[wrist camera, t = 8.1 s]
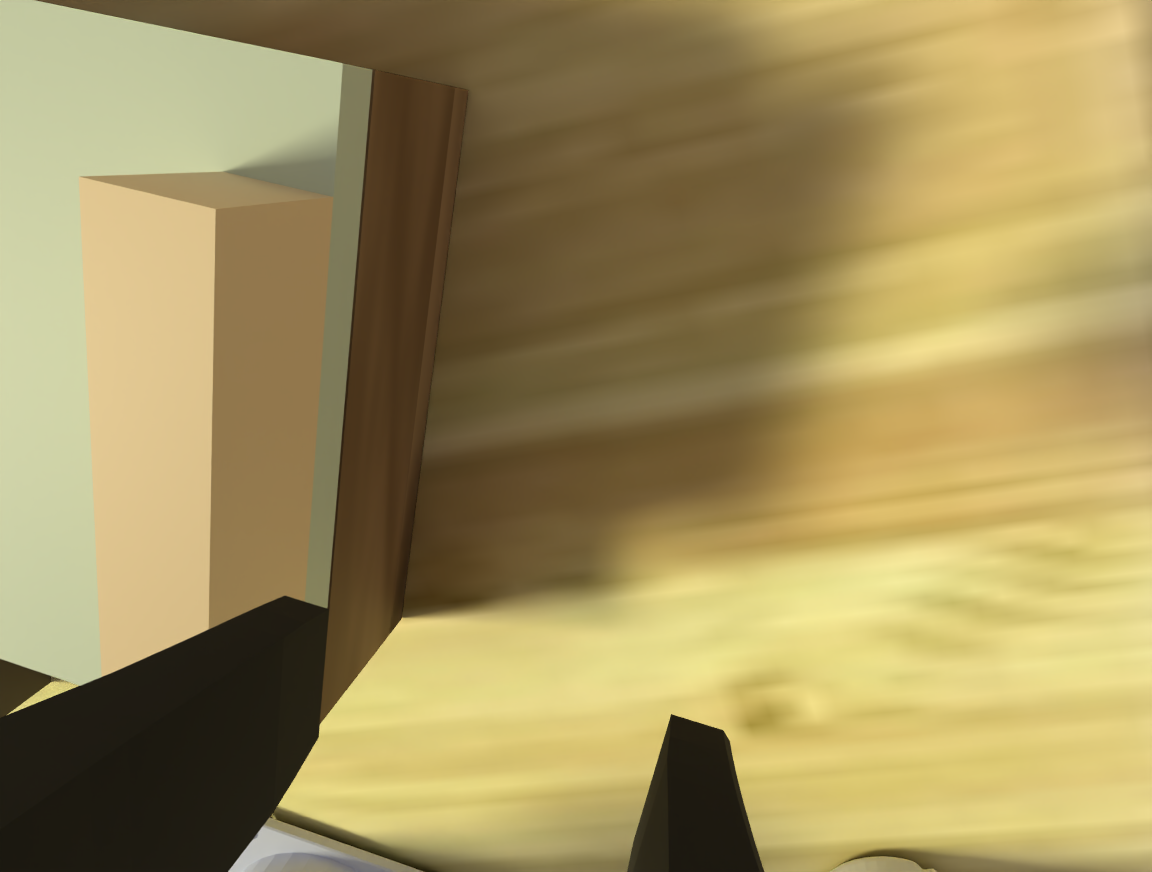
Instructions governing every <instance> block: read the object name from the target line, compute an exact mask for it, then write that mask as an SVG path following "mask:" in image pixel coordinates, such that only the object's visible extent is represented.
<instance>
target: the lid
mask: <svg viewBox="0 0 1152 872" xmlns="http://www.w3.org/2000/svg"><path fill="white" fill-rule="evenodd" d="M371 82H372V69H367V68H363V67H358V66H353V65H349V64H344V63H339V62H334V61H329V60H324V59H320V58H315V57H310V56H305V55H300V54H295V53H290V52H285V51H280V50H275V49H271V48H266V47H261V46H256V45H251V44H246V43H241V42H236V41H231V40H226V39H222V38H217V37H212V36H207V35H202V34H197V33H192V32H187V31H182V30H177V29H173V28H168V27H163V26H158V25H153V24H148V23H143V22H138V21H133V20H128V19H124V18H119V17H114V16H109V15H104V14H99V13H94V12H89V11H84V10H79V9H75V8H70V7H65V6H60V5H55V4H50V3H45V2H40V1H35V0H0V659H2V660H5V661H8V662H11V663H14V664H17V665H20V666H23V667H26V668H29V669H32V670H35V671H38V672H41V673H44V674H47V675H50V676H53V677H56V678H59V679H62V680H65V681H68V682H71V683H73V684H76V685H79V686H81V685H83V684H86V683H88V682H90V681H93V680H95V679H98V678H100V677H103V676H105V675H108V674H110V673H112V672H115V671H117V670H119V669H122V668H124V667H126V666H128V665H131V664H133V663H135V662H137V661H140V660H142V659H144V658H146V657H148V656H151V655H153V654H155V653H157V652H160V651H162V650H164V649H166V648H169V647H171V646H173V645H175V644H178V643H180V642H182V641H184V640H187V639H189V638H191V637H193V636H195V635H197V634H200V633H202V632H204V631H206V630H208V629H210V628H213V627H215V626H217V625H219V624H221V623H223V622H226V621H228V620H230V619H232V618H234V617H237V616H239V615H241V614H243V613H245V612H247V611H250V610H252V609H254V608H256V607H259V606H261V605H263V604H265V603H268V602H270V601H273V600H275V599H277V598H280V597H282V596H288V597H292V598H295V599H298V600H301V601H305V602H308V603H311V604H314V605H318V606H321V607H324V608H327V607H328V595H329V583H330V571H331V559H332V547H333V535H334V523H335V511H336V499H337V488H338V476H339V464H340V452H341V440H342V428H343V416H344V404H345V392H346V380H347V368H348V356H349V344H350V333H351V321H352V309H353V297H354V285H355V273H356V261H357V249H358V237H359V225H360V213H361V201H362V189H363V178H364V166H365V154H366V142H367V130H368V118H369V106H370V94H371Z"/></svg>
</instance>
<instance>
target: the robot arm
mask: <svg viewBox="0 0 1152 872" xmlns="http://www.w3.org/2000/svg"><path fill="white" fill-rule="evenodd" d="M328 620H329V609H327V608H324V607H321V606H318V605H314V604H311V603H308V602H305V601H301V600H298V599H295V598H292V597H288V596H282V597H280V598H277V599H275V600H273V601H270V602H268V603H265V604H263V605H261V606H259V607H256V608H254V609H252V610H250V611H247V612H245V613H243V614H241V615H239V616H237V617H234V618H232V619H230V620H228V621H226V622H223V623H221V624H219V625H217V626H215V627H213V628H210V629H208V630H206V631H204V632H202V633H200V634H197V635H195V636H193V637H191V638H189V639H187V640H184V641H182V642H180V643H178V644H175V645H173V646H171V647H169V648H166V649H164V650H162V651H160V652H157V653H155V654H153V655H151V656H148V657H146V658H144V659H142V660H140V661H137V662H135V663H133V664H131V665H128V666H126V667H124V668H122V669H119V670H117V671H115V672H112V673H110V674H108V675H105V676H103V677H100V678H98V679H95V680H93V681H90V682H88V683H86V684H83V685H81V686H78V687H76V688H73V689H71V690H68V691H66V692H63V693H61V694H58V695H56V696H53V697H51V698H48V699H46V700H43V701H41V702H38V703H36V704H34V705H31V706H29V707H26V708H24V709H21V710H19V711H16V712H14V713H11V714H9V715H6V716H4V717H1V718H0V872H424V871H421V870H418V869H415V868H413V867H410V866H407V865H404V864H401V863H398V862H395V861H393V860H390V859H387V858H384V857H381V856H378V855H375V854H373V853H370V852H367V851H364V850H361V849H358V848H356V847H353V846H350V845H347V844H344V843H341V842H338V841H336V840H333V839H330V838H327V837H324V836H321V835H318V834H316V833H313V832H310V831H307V830H304V829H301V828H299V827H296V826H293V825H290V824H287V823H284V822H281V821H279V820H276V819H273V818H270V816H271V815H272V813H273V812H274V810H275V809H276V807H277V806H278V804H279V802H280V801H281V799H282V798H283V796H284V794H285V793H286V791H287V789H288V788H289V786H290V785H291V783H292V781H293V780H294V778H295V776H296V775H297V773H298V771H299V770H300V768H301V766H302V765H303V763H304V761H305V759H306V758H307V756H308V754H309V753H310V751H311V749H312V747H313V746H314V744H315V742H316V741H317V739H318V737H319V725H320V714H321V702H322V690H323V678H324V667H325V655H326V643H327V631H328ZM627 872H764V869H763V866H762V863H761V861H760V857H759V854H758V851H757V848H756V844H755V841H754V838H753V835H752V831H751V828H750V824H749V820H748V817H747V813H746V810H745V806H744V803H743V799H742V795H741V791H740V787H739V783H738V779H737V775H736V771H735V766H734V761H733V757H732V751H731V746H730V741H729V739H728V738H727V736H726V734H725V733H724V731H723V730H720V729H717V728H714V727H711V726H707V725H704V724H701V723H698V722H694V721H691V720H688V719H685V718H681V717H678V716H675V715H672V714H671V717H670V721H669V724H668V727H667V731H666V734H665V737H664V741H663V744H662V748H661V751H660V754H659V758H658V761H657V764H656V768H655V771H654V775H653V778H652V781H651V785H650V788H649V791H648V795H647V798H646V801H645V805H644V808H643V812H642V815H641V818H640V822H639V825H638V828H637V832H636V835H635V839H634V842H633V847H632V851H631V856H630V861H629V866H628V870H627Z"/></svg>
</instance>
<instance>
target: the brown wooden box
mask: <svg viewBox="0 0 1152 872" xmlns="http://www.w3.org/2000/svg"><path fill="white" fill-rule="evenodd" d="M467 97H468V90H466V89H461V88H457V87H452V86H447V85H442V84H438V83H433V82H428V81H424V80H419V79H414V78H410V77H405V76H400V75H396V74H391V73H386V72H382V71H377V70H372V82H371V94H370V106H369V118H368V130H367V142H366V154H365V166H364V178H363V189H362V201H361V213H360V225H359V237H358V249H357V261H356V273H355V285H354V297H353V309H352V321H351V333H350V344H349V356H348V368H347V380H346V392H345V404H344V416H343V428H342V440H341V452H340V464H339V476H338V488H337V499H336V511H335V523H334V535H333V547H332V559H331V571H330V583H329V595H328V607H327V609H329V620H328V631H327V643H326V655H325V667H324V678H323V690H322V702H321V714H320V723H321V722H322V721H323V719H324V718H325V717H326V716H327V714H328V713H329V712H330V710H331V709H332V708H333V707H334V705H335V704H336V703H337V701H338V700H339V699H340V698H341V696H342V695H343V694H344V692H345V691H346V690H347V689H348V687H349V686H350V685H351V683H352V682H353V681H354V679H355V678H356V677H357V676H358V674H359V673H360V672H361V670H362V669H363V668H364V667H365V665H366V664H367V663H368V661H369V660H370V659H371V658H372V656H373V655H374V654H375V652H376V651H377V650H378V649H379V647H380V646H381V645H382V643H383V642H384V641H385V640H386V638H387V637H388V636H389V634H390V633H391V632H392V630H393V629H394V628H395V627H396V625H397V624H398V623H399V621H400V620H401V618H402V610H403V603H404V595H405V587H406V579H407V571H408V563H409V555H410V547H411V539H412V531H413V524H414V516H415V508H416V500H417V492H418V484H419V476H420V468H421V460H422V452H423V445H424V437H425V429H426V421H427V413H428V405H429V397H430V389H431V381H432V373H433V366H434V358H435V350H436V342H437V334H438V326H439V318H440V310H441V302H442V294H443V287H444V279H445V271H446V263H447V255H448V247H449V239H450V231H451V223H452V215H453V208H454V200H455V192H456V184H457V176H458V168H459V160H460V152H461V144H462V136H463V129H464V121H465V113H466V105H467Z"/></svg>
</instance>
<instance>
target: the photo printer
mask: <svg viewBox="0 0 1152 872" xmlns="http://www.w3.org/2000/svg"><path fill="white" fill-rule="evenodd" d="M830 872H937V871H936V870H935V869H922V868H921V867H920V866H919V865H918V864H917V863H915V862H913V861H911V860H907V859H903V858H897V857H886V856H878V857H865V858H860V859H855V860H852V861H849V862H846V863H843V864H841V865H839V866H837V867H836V868H834V869H833V870H831V871H830Z"/></svg>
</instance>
